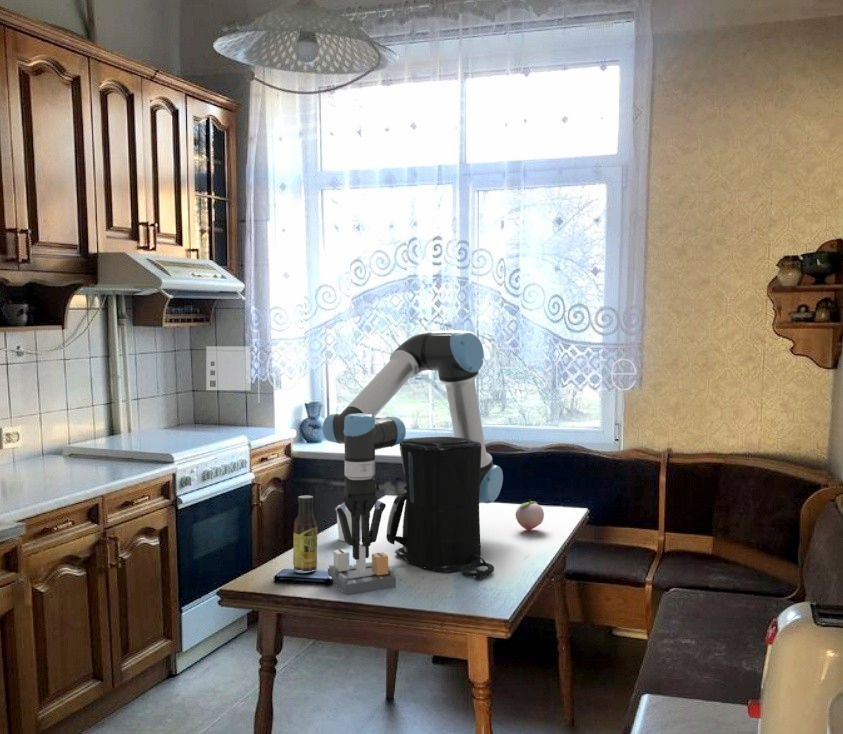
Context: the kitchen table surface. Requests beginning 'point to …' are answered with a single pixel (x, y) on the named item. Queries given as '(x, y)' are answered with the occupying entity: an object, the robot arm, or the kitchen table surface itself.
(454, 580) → the kitchen table surface
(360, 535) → the white cup
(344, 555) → the white fader
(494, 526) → the kitchen table surface
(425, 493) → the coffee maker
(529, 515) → the decorative fruit
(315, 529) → the sauce bottle
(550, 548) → the kitchen table surface
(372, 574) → the panel
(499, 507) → the kitchen table surface
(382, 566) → the orange fader
